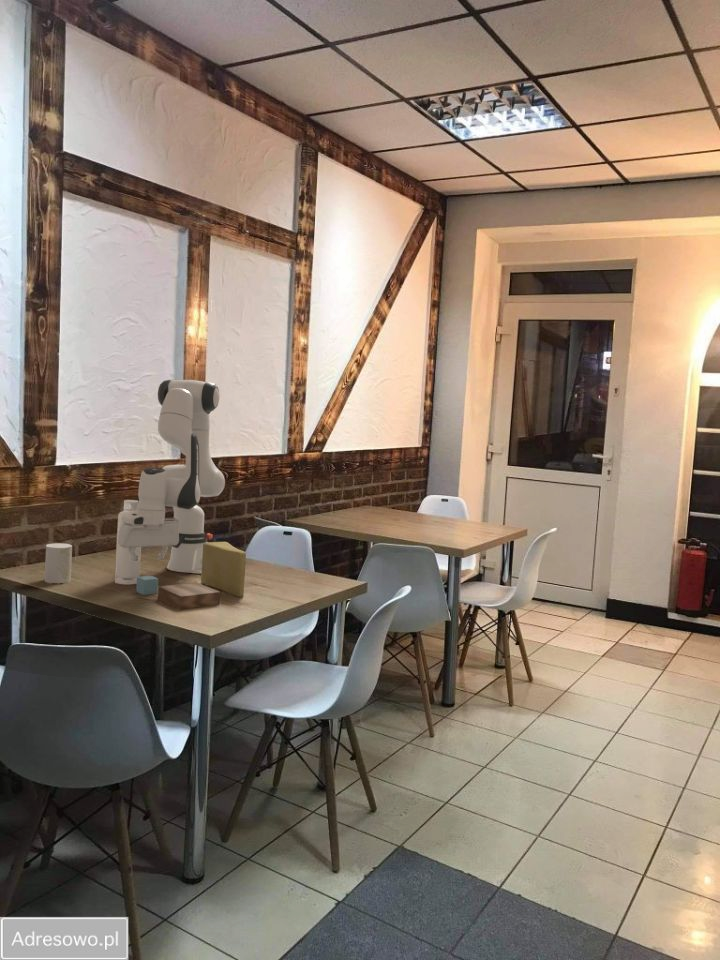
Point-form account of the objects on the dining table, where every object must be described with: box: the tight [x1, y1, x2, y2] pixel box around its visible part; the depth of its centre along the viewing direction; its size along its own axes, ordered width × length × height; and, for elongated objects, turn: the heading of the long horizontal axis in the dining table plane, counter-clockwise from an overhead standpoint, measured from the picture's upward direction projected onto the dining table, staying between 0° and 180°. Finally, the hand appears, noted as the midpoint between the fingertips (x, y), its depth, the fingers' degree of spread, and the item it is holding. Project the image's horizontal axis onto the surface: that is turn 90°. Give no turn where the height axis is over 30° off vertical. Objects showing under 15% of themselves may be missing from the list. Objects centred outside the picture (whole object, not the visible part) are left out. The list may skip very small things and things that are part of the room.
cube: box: [135, 575, 159, 596], centre depth 259 cm, size 5×5×5 cm
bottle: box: [114, 499, 142, 585], centre depth 271 cm, size 8×8×28 cm
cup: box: [44, 542, 73, 585], centre depth 265 cm, size 8×8×12 cm
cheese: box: [200, 541, 247, 598], centre depth 271 cm, size 22×10×15 cm, turn 36°
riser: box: [157, 582, 221, 610], centre depth 252 cm, size 14×14×4 cm
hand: (148, 559), depth 258 cm, fingers open, 8 cm apart
